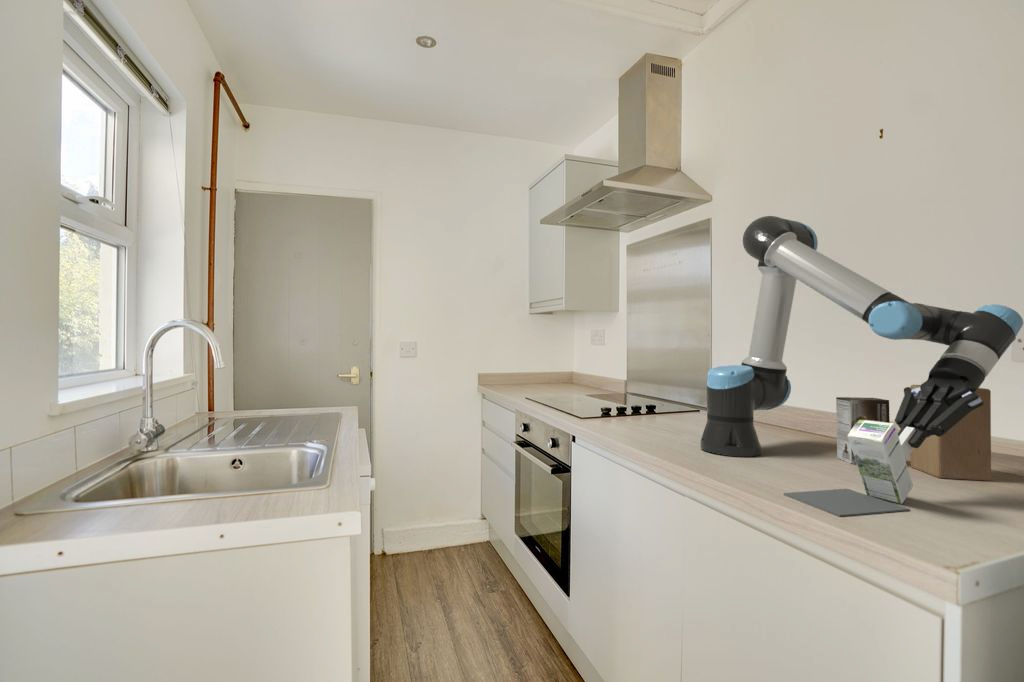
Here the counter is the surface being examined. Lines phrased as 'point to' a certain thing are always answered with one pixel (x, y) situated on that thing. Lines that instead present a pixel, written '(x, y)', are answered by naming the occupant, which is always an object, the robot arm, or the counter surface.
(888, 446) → the syrup box
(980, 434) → the wooden block
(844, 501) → the mat
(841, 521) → the counter surface
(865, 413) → the coffee box
